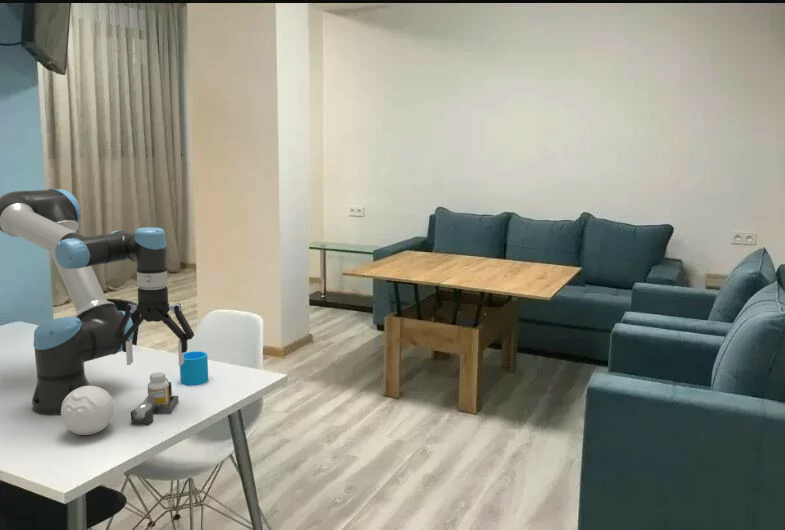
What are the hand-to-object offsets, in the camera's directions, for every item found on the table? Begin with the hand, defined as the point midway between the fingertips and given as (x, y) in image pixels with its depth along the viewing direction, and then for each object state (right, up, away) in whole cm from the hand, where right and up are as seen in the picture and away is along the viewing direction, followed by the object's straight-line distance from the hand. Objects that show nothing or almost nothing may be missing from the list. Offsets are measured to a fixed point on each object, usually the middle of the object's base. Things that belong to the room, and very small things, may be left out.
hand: (155, 363), depth 182 cm
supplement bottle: (0, -13, +2) cm, 13 cm away
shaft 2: (-2, -11, +10) cm, 15 cm away
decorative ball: (-12, -15, -13) cm, 24 cm away
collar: (0, -12, +2) cm, 13 cm away
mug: (+3, -9, +25) cm, 26 cm away
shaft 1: (-1, -14, -6) cm, 15 cm away
